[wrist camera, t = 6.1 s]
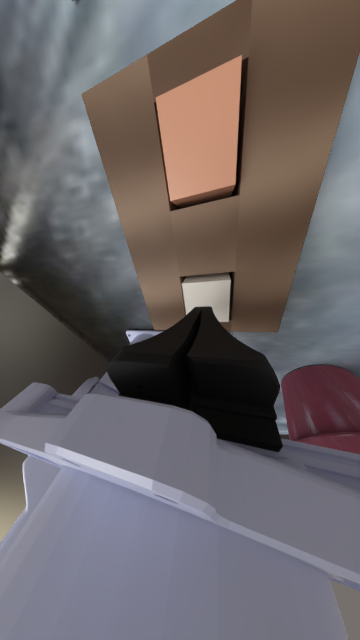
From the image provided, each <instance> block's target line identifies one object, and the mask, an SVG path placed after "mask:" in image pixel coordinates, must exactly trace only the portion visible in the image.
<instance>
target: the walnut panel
mask: <svg viewBox="0 0 360 640" xmlns="http://www.w3.org/2000/svg"><path fill="white" fill-rule="evenodd" d="M359 52H360V0H236V1H235V2H233V3H231V4H230V5H228V6H226V7H225V8H223V9H221V10H220V11H218V12H217V13H215V14H213V15H212V16H210V17H208V18H207V19H205V20H203V21H202V22H200V23H198V24H197V25H195V26H193V27H192V28H190V29H188V30H187V31H185V32H183V33H182V34H180V35H179V36H177V37H175V38H174V39H172V40H170V41H169V42H167V43H165V44H164V45H162V46H160V47H159V48H157V49H155V50H154V51H152V52H150V53H149V54H147V55H145V56H144V57H142V58H141V59H139V60H137V61H136V62H134V63H132V64H131V65H129V66H127V67H126V68H124V69H122V70H121V71H119V72H117V73H116V74H114V75H112V76H111V77H109V78H107V79H106V80H104V81H103V82H101V83H99V84H98V85H96V86H94V87H93V88H91V89H89V90H88V91H86V92H84V93H83V94H82V98H83V101H84V104H85V107H86V111H87V114H88V117H89V120H90V124H91V127H92V130H93V133H94V137H95V140H96V143H97V146H98V150H99V153H100V156H101V159H102V163H103V166H104V169H105V172H106V176H107V179H108V182H109V185H110V189H111V192H112V195H113V198H114V202H115V205H116V208H117V211H118V215H119V218H120V221H121V224H122V228H123V231H124V234H125V237H126V241H127V244H128V247H129V250H130V254H131V257H132V260H133V263H134V267H135V270H136V273H137V276H138V280H139V283H140V286H141V289H142V293H143V296H144V299H145V302H146V306H147V309H148V312H149V315H150V319H151V322H152V325H153V328H154V330H167V329H168V328H170V327H172V326H173V325H175V324H176V323H177V322H179V321H180V320H181V319H182V318H184V317H185V316H186V309H185V302H184V295H183V288H182V283H183V281H184V280H185V278H186V277H187V276H192V275H203V274H213V273H224V272H231V275H230V279H231V284H230V304H229V322H220V324H221V325H222V326H223V327H224V328H225V329H226V330H227V331H238V332H278V330H279V326H280V323H281V319H282V316H283V313H284V309H285V306H286V302H287V299H288V295H289V292H290V289H291V285H292V282H293V278H294V275H295V272H296V268H297V265H298V261H299V258H300V254H301V251H302V248H303V244H304V241H305V237H306V234H307V230H308V227H309V224H310V220H311V217H312V213H313V210H314V206H315V203H316V200H317V196H318V193H319V189H320V186H321V182H322V179H323V176H324V172H325V169H326V165H327V162H328V158H329V155H330V152H331V148H332V145H333V141H334V138H335V134H336V131H337V128H338V124H339V121H340V117H341V114H342V111H343V107H344V104H345V100H346V97H347V93H348V90H349V87H350V83H351V80H352V76H353V73H354V69H355V66H356V63H357V59H358V56H359ZM241 55H242V63H241V83H240V103H239V123H238V143H237V163H236V183H235V192H234V196H233V197H229V198H225V199H221V200H216V201H212V202H208V203H204V204H200V205H195V206H191V207H187V208H183V209H180V207H178V206H177V205H175V204H174V203H172V202H171V201H170V196H169V189H168V182H167V175H166V168H165V161H164V154H163V146H162V139H161V132H160V125H159V118H158V111H157V104H156V97H158V96H160V95H162V94H164V93H166V92H168V91H170V90H172V89H174V88H176V87H178V86H180V85H182V84H184V83H186V82H188V81H190V80H192V79H194V78H196V77H198V76H200V75H202V74H204V73H206V72H208V71H210V70H212V69H214V68H216V67H218V66H220V65H222V64H224V63H226V62H228V61H230V60H232V59H234V58H236V57H238V56H241Z"/></svg>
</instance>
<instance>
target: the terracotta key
mask: <svg viewBox="0 0 360 640" xmlns="http://www.w3.org/2000/svg"><path fill="white" fill-rule="evenodd" d="M241 63H242V55H241V56H238V57H236V58H234V59H232V60H230V61H228V62H226V63H224V64H222V65H220V66H218V67H216V68H214V69H212V70H210V71H208V72H206V73H204V74H202V75H200V76H198V77H196V78H194V79H192V80H190V81H188V82H186V83H184V84H182V85H180V86H178V87H176V88H174V89H172V90H170V91H168V92H166V93H164V94H162V95H160V96H158V97H156V104H157V111H158V118H159V125H160V132H161V139H162V146H163V154H164V161H165V168H166V175H167V182H168V189H169V196H170V201H171V202H172V203H174V204H175V205H177V206H178V207H180V208H185V207H189V206H193V205H198V204H202V203H206V202H210V201H215V200H219V199H223V198H227V197H231V195H232V192H233V189H234V187H235V183H236V163H237V143H238V123H239V103H240V83H241Z"/></svg>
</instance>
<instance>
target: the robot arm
mask: <svg viewBox="0 0 360 640" xmlns="http://www.w3.org/2000/svg"><path fill="white" fill-rule="evenodd" d="M126 334H127V336H128V338H129V341H130V344H129V345H128V346H124V347H123V348H122V349H121V350H120V352H119V353H118V354H117V355H116V356H115V358H114V359H113V360H112V361H111V363H110V364H109V365H108V368H107V373H105V375H104V376H103V377H102V378H101V380H100V381H99V382H98V380H99V378H98V377H94V378H91V379H88V380H87V381H85V382H84V384H82V385H81V386H80V388H79V389H78V390H77V391H76V392H75V393H74V394H73V395H72V396H69V395H64V394H59V393H57V392H56V391H55V390H54V389H53V388H52V387H51V386H49V385H46V384H41V383H36V382H35V383H32V384H31V385H30V386H28V387H27V388H26V389H25V390H24V391H22V392H21V393H20V394H19V395H17V396H16V397H15V398H14V399H12V400H11V401H10V402H9V403H8V404H7V405H5V406H4V407H3V408H1V409H0V443H2V444H4V445H7V446H9V447H11V448H13V449H15V450H18V451H20V452H23V453H25V454H28V457H27V459H26V460H25V461H24V462H23V479H24V487H25V494H26V507H25V509H24V510H23V512H22V513H21V514H20V516H19V517H18V519H17V520H16V521H15V523H14V524H13V525H12V527H11V529H10V530H9V531H8V532H7V534H6V535H5V537H4V538H3V540H2V541H1V542H0V640H349V638H348V635H347V632H346V629H345V626H344V623H343V620H342V616H341V614H340V610H339V607H338V604H337V601H336V598H335V595H334V592H333V589H332V586H331V583H330V580H333V581H335V582H338V583H340V584H343V585H345V586H348V587H350V588H352V589H355V590H358V591H360V454H356V453H351V452H346V451H341V450H336V449H331V448H326V447H321V446H316V445H311V444H306V443H301V442H296V441H291V440H286V439H281V438H280V434H279V431H278V428H277V425H276V421H275V420H276V419H277V416H276V413H275V410H274V403H275V401H276V398H277V396H278V394H279V390H280V384H279V382H278V379H277V376H276V374H275V372H274V370H273V368H272V367H271V365H270V363H269V362H268V360H267V358H266V357H265V355H263V354H261V353H259V352H257V351H256V350H254V349H252V348H250V347H248V346H246V345H245V344H243V343H242V342H240V341H239V340H237V339H236V338H235V337H233V336H232V335H231V334H230V333H229V332H228V331H227V330H226V329H225V328H224V327H223V326H222V325H221V324H220V322H219V321H218V319H217V318H216V316H215V314H214V312H213V310H212V307H211V306H204V307H194V308H193V309H192V310H191V311H190V312H189V313H188V314H187V315H186V316H185V317H184V318H182V319H181V320H180V321H179V322H177V323H176V324H175V325H173V326H172V327H170V328H168V329H167V330H165V331H152V330H127V331H126Z"/></svg>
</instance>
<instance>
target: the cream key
mask: <svg viewBox="0 0 360 640" xmlns="http://www.w3.org/2000/svg"><path fill="white" fill-rule="evenodd" d="M230 284H231V279H230V275H229V272H224V273H213V274H203V275H192V276H187V277H186V278H185V280H184V281H183V283H182V288H183V295H184V302H185V309H186V315H187V314H188V313H189V312H190V311H191V310H192V309H193V308H194V307H204V306H211V307H212V310H213V312H214V314H215V316H216V318H217V319H218V321H219V322H229V304H230Z"/></svg>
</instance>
